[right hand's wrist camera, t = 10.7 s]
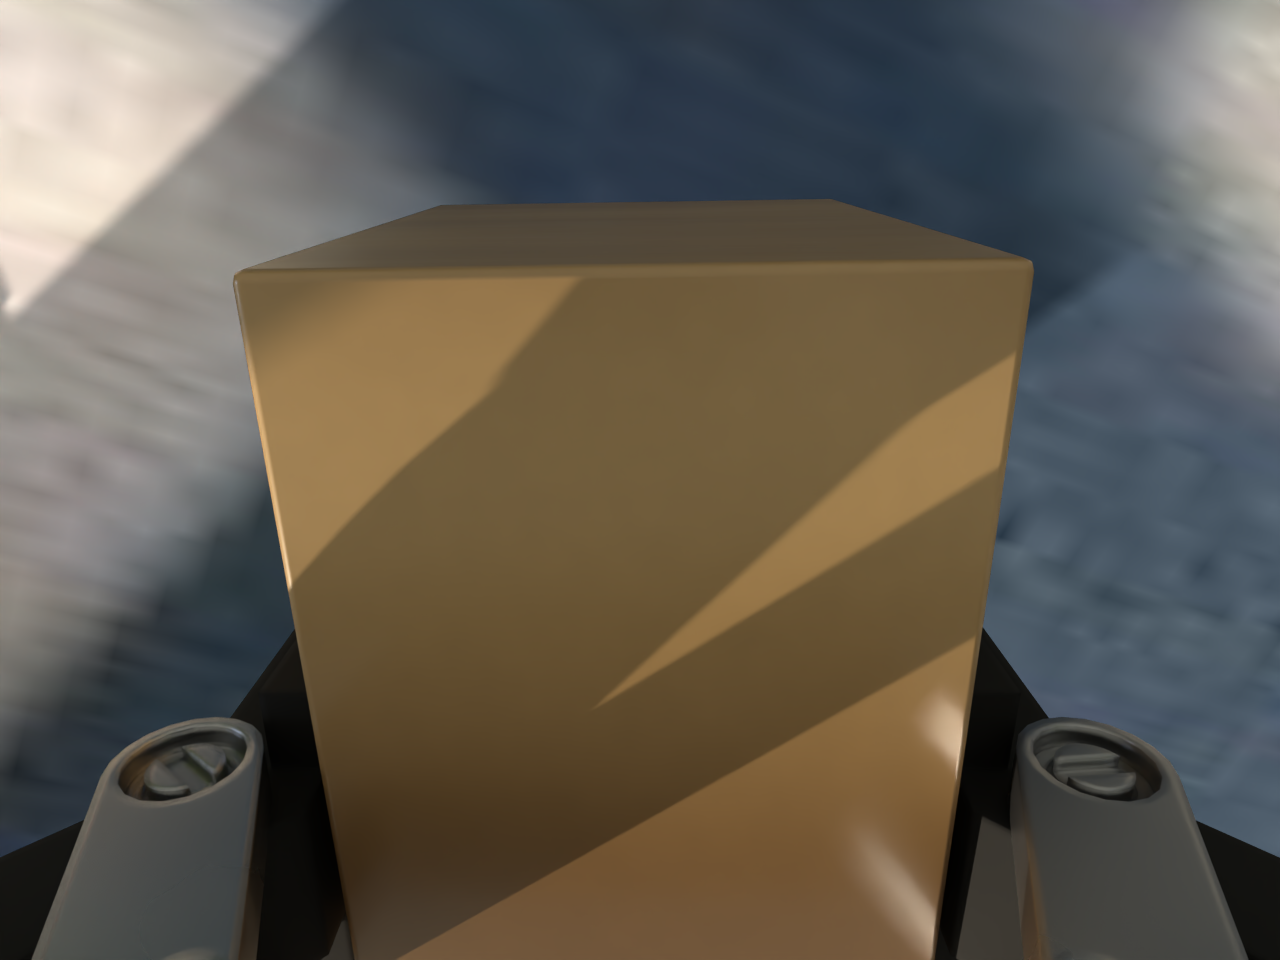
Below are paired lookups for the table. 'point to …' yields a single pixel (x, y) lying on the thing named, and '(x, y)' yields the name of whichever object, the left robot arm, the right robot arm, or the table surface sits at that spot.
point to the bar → (639, 568)
